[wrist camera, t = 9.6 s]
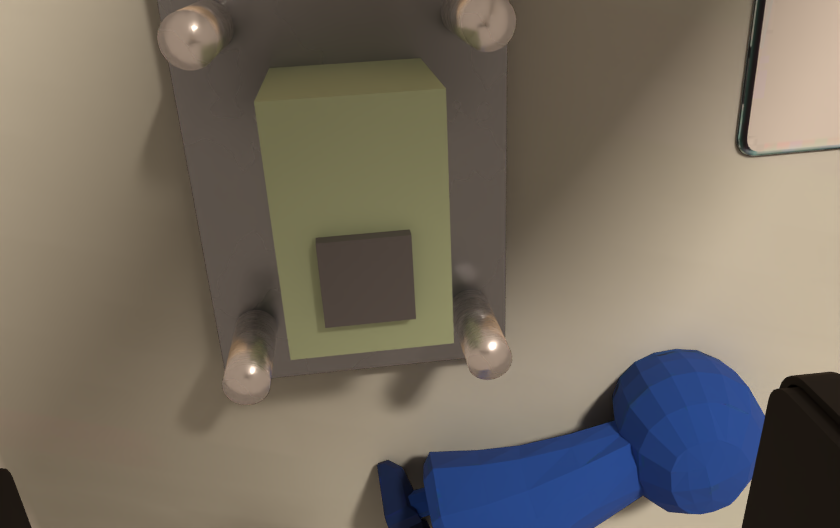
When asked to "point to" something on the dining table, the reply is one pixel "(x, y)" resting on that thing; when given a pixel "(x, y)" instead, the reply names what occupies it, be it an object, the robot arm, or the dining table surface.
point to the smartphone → (791, 78)
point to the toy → (601, 458)
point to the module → (359, 204)
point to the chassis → (244, 175)
